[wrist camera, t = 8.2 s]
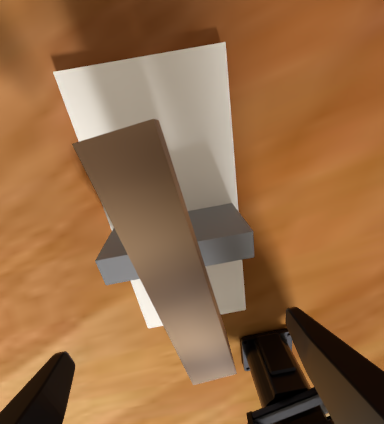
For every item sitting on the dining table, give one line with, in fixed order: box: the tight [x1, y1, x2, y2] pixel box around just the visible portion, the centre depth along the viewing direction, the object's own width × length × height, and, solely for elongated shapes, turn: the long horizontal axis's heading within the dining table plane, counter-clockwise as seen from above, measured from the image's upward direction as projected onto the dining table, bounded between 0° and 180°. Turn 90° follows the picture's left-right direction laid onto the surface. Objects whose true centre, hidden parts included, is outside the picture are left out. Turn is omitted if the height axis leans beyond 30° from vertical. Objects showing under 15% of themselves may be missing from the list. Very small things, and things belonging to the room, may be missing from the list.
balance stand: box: [53, 42, 254, 328], centre depth 16 cm, size 24×11×6 cm, turn 9°
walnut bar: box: [72, 119, 237, 385], centre depth 12 cm, size 16×3×3 cm, turn 16°
